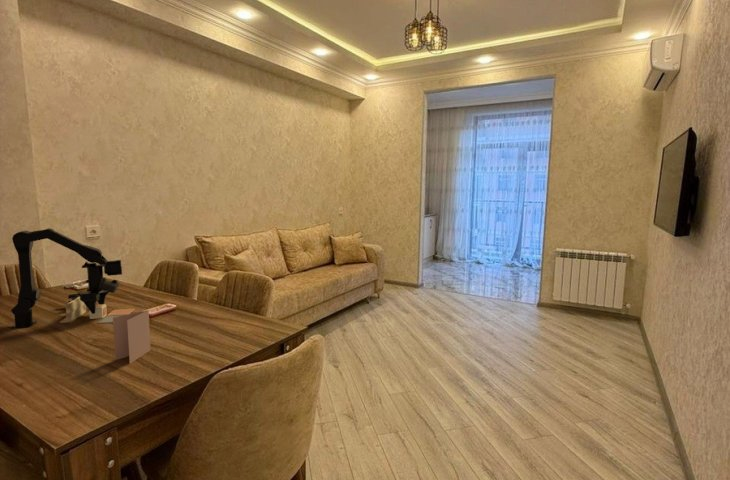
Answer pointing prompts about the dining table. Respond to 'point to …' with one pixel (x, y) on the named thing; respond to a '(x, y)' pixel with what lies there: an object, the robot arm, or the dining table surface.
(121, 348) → the greeting card
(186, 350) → the dining table surface
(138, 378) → the dining table surface
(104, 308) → the marked cube
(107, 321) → the slate tile
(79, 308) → the beech screen
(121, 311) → the terracotta tile
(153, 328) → the dining table surface
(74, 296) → the end cap
